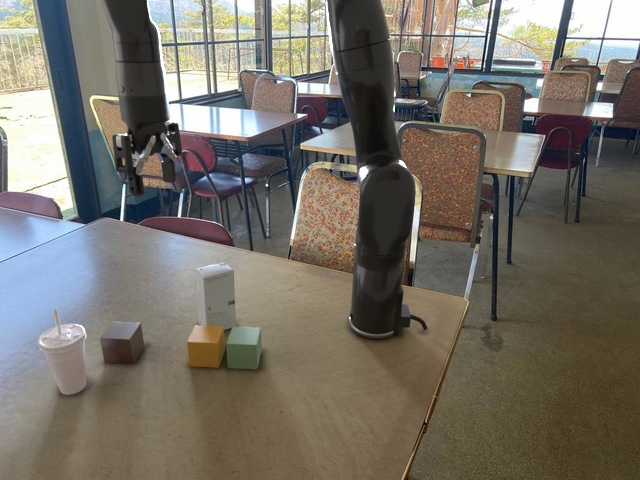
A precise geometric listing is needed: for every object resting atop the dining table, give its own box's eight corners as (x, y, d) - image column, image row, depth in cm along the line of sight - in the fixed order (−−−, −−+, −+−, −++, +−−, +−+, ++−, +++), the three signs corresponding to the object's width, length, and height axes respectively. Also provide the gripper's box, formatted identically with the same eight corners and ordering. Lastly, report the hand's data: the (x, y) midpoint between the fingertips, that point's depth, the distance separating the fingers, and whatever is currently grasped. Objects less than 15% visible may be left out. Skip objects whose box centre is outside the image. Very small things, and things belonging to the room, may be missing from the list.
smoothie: (83, 368, 80) (68, 294, 74) (103, 385, 76) (88, 309, 70) (43, 387, 75) (23, 311, 70) (62, 407, 71) (43, 328, 66)
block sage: (261, 351, 85) (261, 327, 83) (257, 369, 81) (256, 344, 79) (233, 350, 85) (232, 326, 83) (227, 368, 81) (226, 343, 79)
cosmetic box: (207, 336, 89) (202, 278, 84) (198, 324, 92) (193, 268, 87) (237, 326, 92) (234, 270, 87) (228, 315, 96) (225, 260, 91)
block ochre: (225, 349, 85) (223, 326, 83) (218, 367, 81) (217, 343, 79) (197, 348, 85) (195, 324, 83) (189, 366, 81) (186, 341, 79)
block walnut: (144, 346, 86) (141, 322, 84) (133, 364, 81) (129, 339, 79) (116, 345, 86) (112, 321, 84) (104, 362, 81) (99, 338, 79)
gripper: (131, 97, 69) (145, 203, 76) (188, 88, 82) (196, 180, 88) (90, 94, 72) (107, 197, 78) (152, 85, 84) (162, 175, 90)
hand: (154, 188), depth 83 cm, fingers open, 8 cm apart
